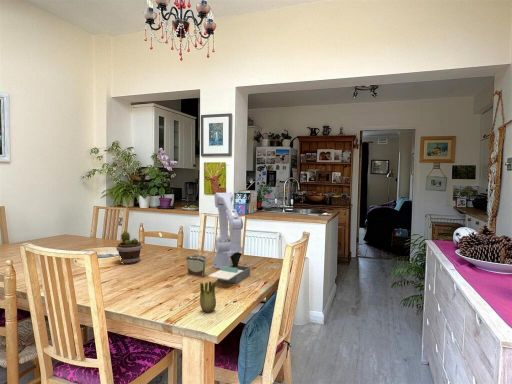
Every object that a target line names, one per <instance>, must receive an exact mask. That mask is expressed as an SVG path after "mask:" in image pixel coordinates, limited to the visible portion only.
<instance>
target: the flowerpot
mask: <svg viewBox="0 0 512 384" xmlns="http://www.w3.org/2000/svg"><path fill="white" fill-rule="evenodd" d="M131 235H132V234H131V232H128V231H127V230H125V231H122V232H121V234H120V240H121V242H120V243H118V244H117V245H116V246H115V249H116V251H117V253H118V256H119V257H120V256H121V258H122V259H121V262H123V263H124V264H123V265H133V264H132V263H134V264H136V262H137V263H138V262H139V261H140V260H141V256H140V254H141V250H142V249H143V245H142V244H141V241H139V240H138V239H137V238H135V237H133V238H132V237H131ZM131 238H132V239H131ZM121 262H120V263H121Z"/></svg>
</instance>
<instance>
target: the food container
mask: <svg viewBox="0 0 512 384" xmlns="http://www.w3.org/2000/svg"><path fill="white" fill-rule="evenodd" d="M185 261H186V267H187V275H188V276H192V277H199V278H204V277H205V272H206V263H207V258H206V256H205V255H202V254H201V255H199V254H191V255H187V256H186V257H185Z"/></svg>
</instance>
